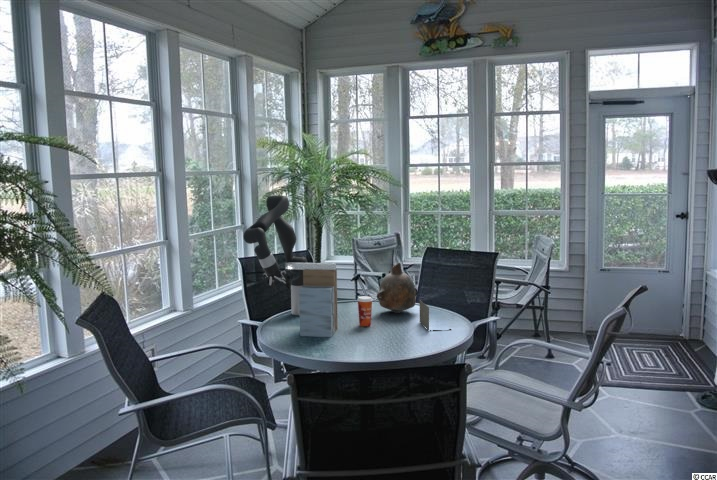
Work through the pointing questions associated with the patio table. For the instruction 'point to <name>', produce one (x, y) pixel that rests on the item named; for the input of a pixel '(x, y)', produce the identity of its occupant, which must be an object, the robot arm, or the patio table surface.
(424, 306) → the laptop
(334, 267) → the aluminium bar
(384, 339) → the patio table surface
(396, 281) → the jug
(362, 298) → the coffee cup
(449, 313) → the patio table surface
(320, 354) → the patio table surface
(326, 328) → the display riser
